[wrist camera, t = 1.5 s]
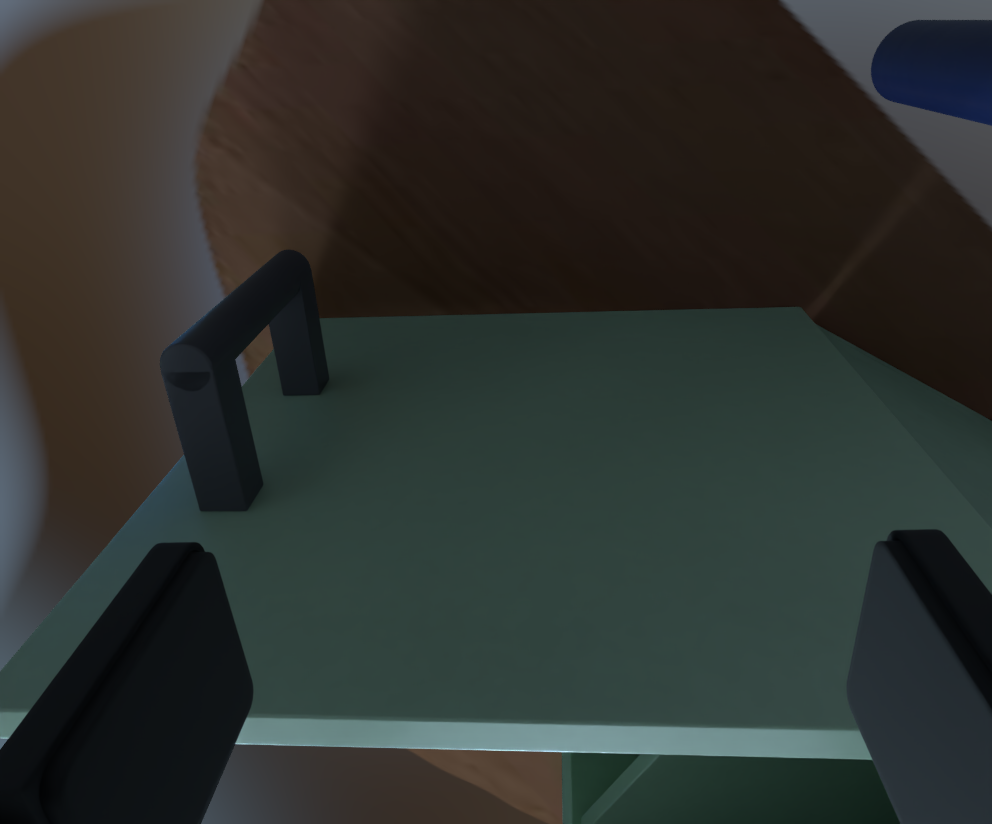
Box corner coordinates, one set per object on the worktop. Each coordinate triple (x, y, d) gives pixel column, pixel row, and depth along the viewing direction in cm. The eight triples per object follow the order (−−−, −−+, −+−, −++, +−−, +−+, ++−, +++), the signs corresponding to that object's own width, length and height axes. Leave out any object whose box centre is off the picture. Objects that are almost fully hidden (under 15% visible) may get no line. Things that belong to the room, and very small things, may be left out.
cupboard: (560, 645, 50) (565, 1181, 27) (810, 321, 38) (1194, 771, 15) (784, 743, 53) (963, 1304, 30) (1080, 469, 41) (1743, 1035, 18)
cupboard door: (279, 208, 37) (-146, 501, 15) (817, 188, 35) (1298, 495, 13) (302, 335, 41) (-18, 739, 18) (798, 324, 38) (1154, 768, 16)
